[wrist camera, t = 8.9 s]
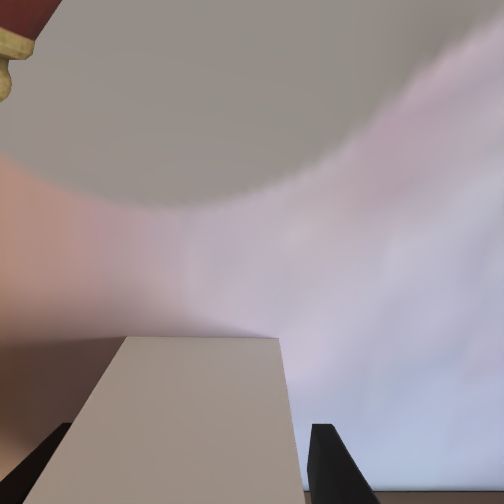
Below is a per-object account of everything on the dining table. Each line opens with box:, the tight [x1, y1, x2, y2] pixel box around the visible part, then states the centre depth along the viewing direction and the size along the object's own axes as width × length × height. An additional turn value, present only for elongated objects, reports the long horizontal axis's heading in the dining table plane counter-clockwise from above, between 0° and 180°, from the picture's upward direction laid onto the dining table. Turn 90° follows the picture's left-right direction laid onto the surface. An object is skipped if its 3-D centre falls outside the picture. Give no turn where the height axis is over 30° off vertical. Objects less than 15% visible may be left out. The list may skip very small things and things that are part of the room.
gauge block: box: [23, 337, 305, 504], centre depth 9 cm, size 6×5×6 cm
